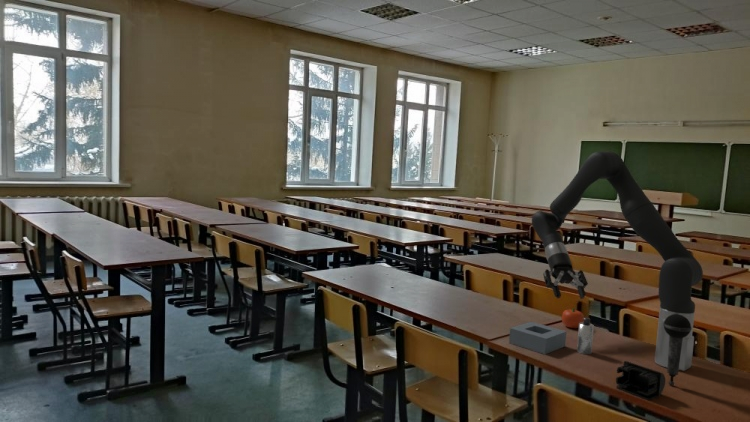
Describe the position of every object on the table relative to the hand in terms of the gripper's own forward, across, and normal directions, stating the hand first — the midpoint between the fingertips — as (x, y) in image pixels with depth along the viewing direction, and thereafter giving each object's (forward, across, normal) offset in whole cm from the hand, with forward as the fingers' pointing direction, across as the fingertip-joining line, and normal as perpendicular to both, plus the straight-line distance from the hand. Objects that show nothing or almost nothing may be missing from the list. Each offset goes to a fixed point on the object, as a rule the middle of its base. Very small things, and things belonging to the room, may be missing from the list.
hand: (571, 297), depth 185 cm
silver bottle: (+18, 0, +3) cm, 19 cm away
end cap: (+40, -1, -18) cm, 44 cm away
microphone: (+37, +11, -16) cm, 42 cm away
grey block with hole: (+14, -13, +8) cm, 20 cm away
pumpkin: (0, +10, +22) cm, 24 cm away
